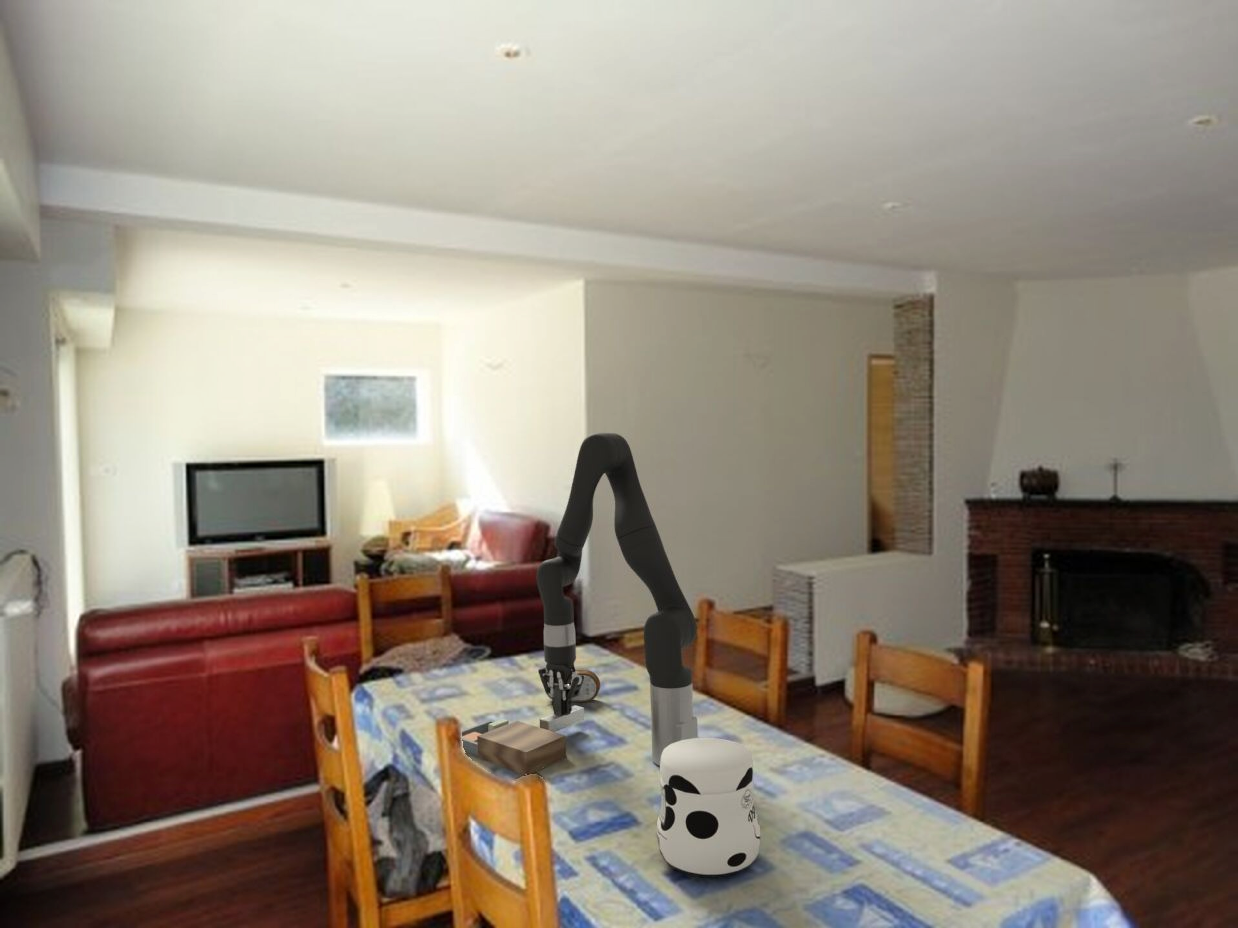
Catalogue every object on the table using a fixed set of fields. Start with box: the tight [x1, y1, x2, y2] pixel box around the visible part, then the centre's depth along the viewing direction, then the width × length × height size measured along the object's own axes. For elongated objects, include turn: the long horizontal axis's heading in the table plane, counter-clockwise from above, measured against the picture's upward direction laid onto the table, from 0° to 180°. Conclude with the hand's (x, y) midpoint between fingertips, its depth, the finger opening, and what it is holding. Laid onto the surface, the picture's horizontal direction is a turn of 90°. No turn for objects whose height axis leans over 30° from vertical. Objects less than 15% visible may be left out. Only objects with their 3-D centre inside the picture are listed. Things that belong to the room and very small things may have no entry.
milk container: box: [656, 737, 761, 878], centre depth 139 cm, size 17×17×18 cm
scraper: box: [539, 687, 585, 733], centre depth 198 cm, size 3×12×9 cm, turn 139°
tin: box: [545, 669, 601, 703], centre depth 224 cm, size 15×3×8 cm, turn 84°
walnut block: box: [477, 720, 568, 776], centre depth 186 cm, size 16×12×5 cm
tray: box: [461, 719, 496, 759], centre depth 195 cm, size 10×12×3 cm
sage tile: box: [488, 718, 510, 732], centre depth 195 cm, size 4×4×2 cm
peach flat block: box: [462, 732, 481, 743], centre depth 193 cm, size 4×4×2 cm
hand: (562, 712), depth 198 cm, fingers closed on scraper, 2 cm apart
